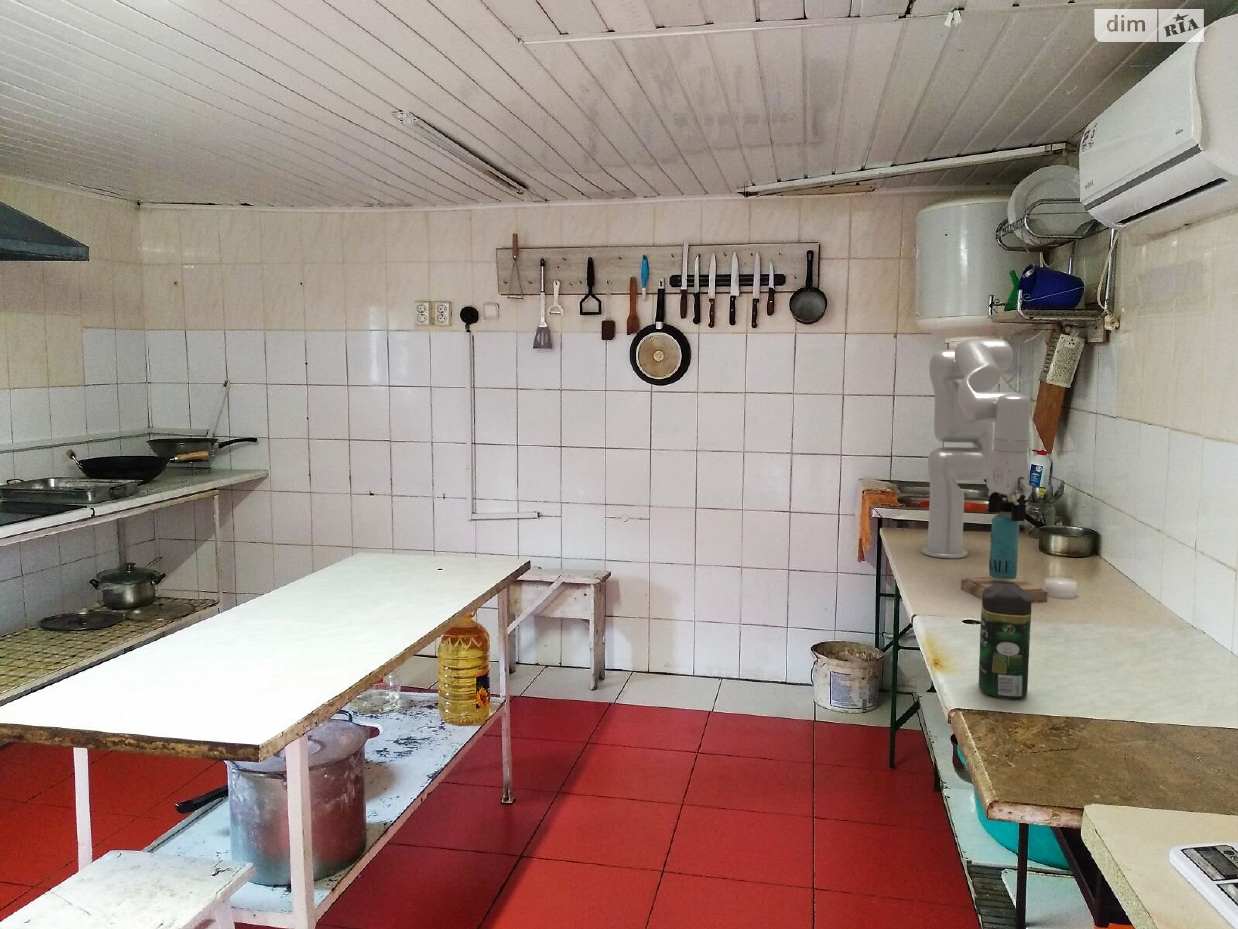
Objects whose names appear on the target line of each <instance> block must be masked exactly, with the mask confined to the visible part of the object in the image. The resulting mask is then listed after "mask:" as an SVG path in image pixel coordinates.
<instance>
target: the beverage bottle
mask: <svg viewBox="0 0 1238 929" xmlns="http://www.w3.org/2000/svg"><path fill="white" fill-rule="evenodd" d="M1012 504H1014V502H1013V501H1003V500H1002V502H998V507H997V510H998V511H1001V512H1005V513H1012ZM1020 522H1021V521H1012V520H1011V514H1003V513H1002V514H996V515H995V516H993V517H992V518H991V530H990V549H989V561H988V574H989V577H993V578H997V579H1006V580H1010V579H1015V578H1017V575H1018V556H1019V554H1018V550H1019V534H1020Z"/></svg>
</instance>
